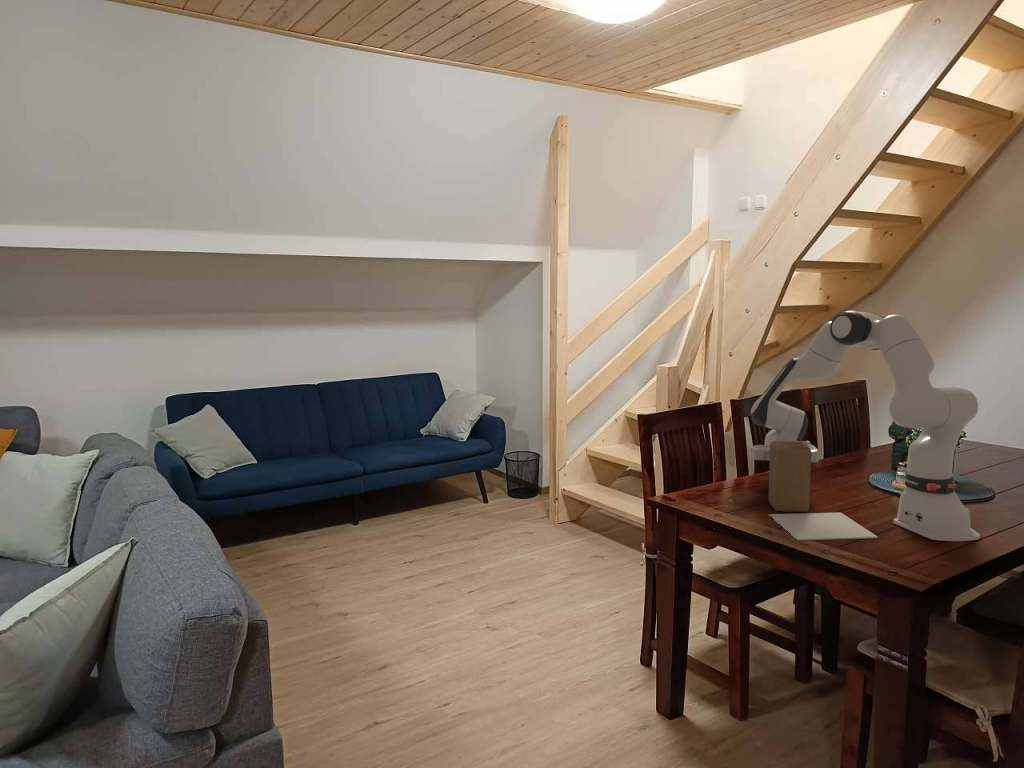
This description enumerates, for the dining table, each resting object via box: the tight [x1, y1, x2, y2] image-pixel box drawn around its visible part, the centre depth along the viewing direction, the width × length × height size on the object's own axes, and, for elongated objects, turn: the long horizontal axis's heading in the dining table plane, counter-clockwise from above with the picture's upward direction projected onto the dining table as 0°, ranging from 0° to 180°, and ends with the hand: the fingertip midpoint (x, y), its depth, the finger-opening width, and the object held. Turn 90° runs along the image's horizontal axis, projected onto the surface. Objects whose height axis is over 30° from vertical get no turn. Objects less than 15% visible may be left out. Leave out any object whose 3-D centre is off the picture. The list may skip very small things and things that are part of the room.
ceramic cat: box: [887, 420, 914, 469], centre depth 264 cm, size 20×6×20 cm, turn 37°
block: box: [767, 441, 812, 513], centre depth 224 cm, size 10×10×20 cm
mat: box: [767, 512, 879, 541], centre depth 208 cm, size 21×22×1 cm
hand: (787, 459), depth 229 cm, fingers closed
